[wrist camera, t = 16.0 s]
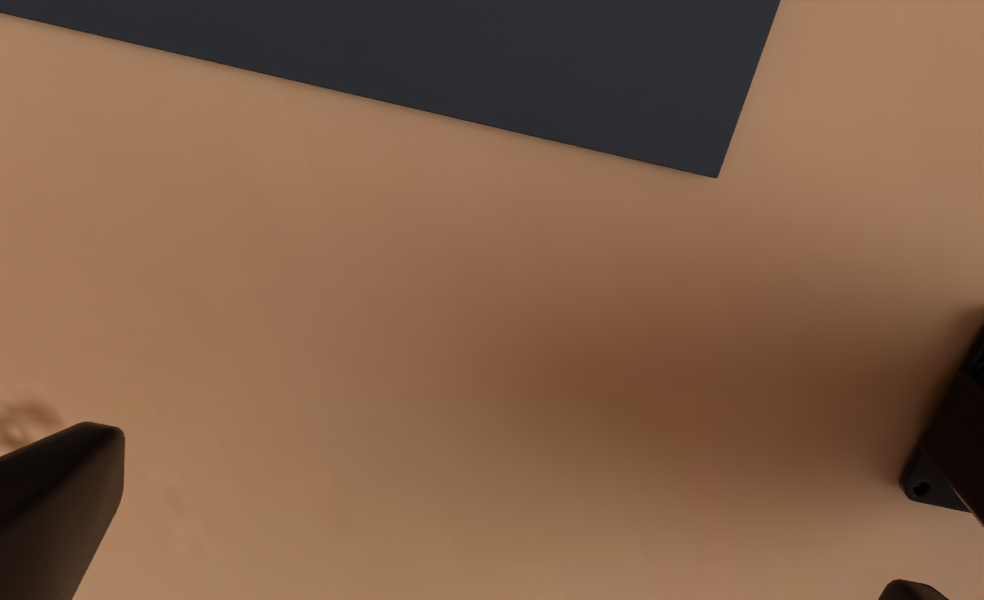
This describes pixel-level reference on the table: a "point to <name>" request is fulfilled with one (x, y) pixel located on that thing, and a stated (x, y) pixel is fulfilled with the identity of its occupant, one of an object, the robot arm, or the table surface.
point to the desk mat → (483, 59)
